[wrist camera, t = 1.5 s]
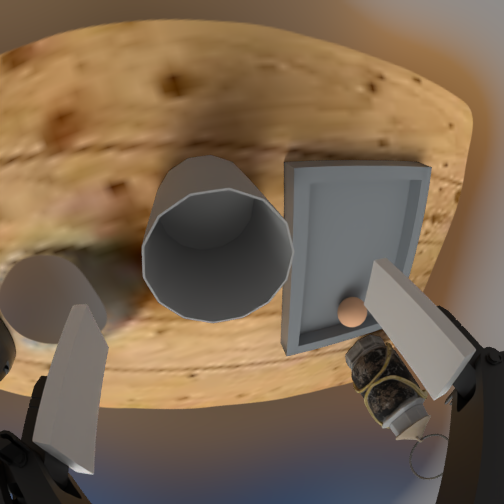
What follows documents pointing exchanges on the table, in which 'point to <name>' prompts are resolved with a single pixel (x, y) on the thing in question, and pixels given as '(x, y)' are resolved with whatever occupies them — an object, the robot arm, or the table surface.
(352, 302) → the ball
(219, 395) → the table surface
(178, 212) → the cup
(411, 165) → the tray
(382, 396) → the lantern
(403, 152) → the table surface
